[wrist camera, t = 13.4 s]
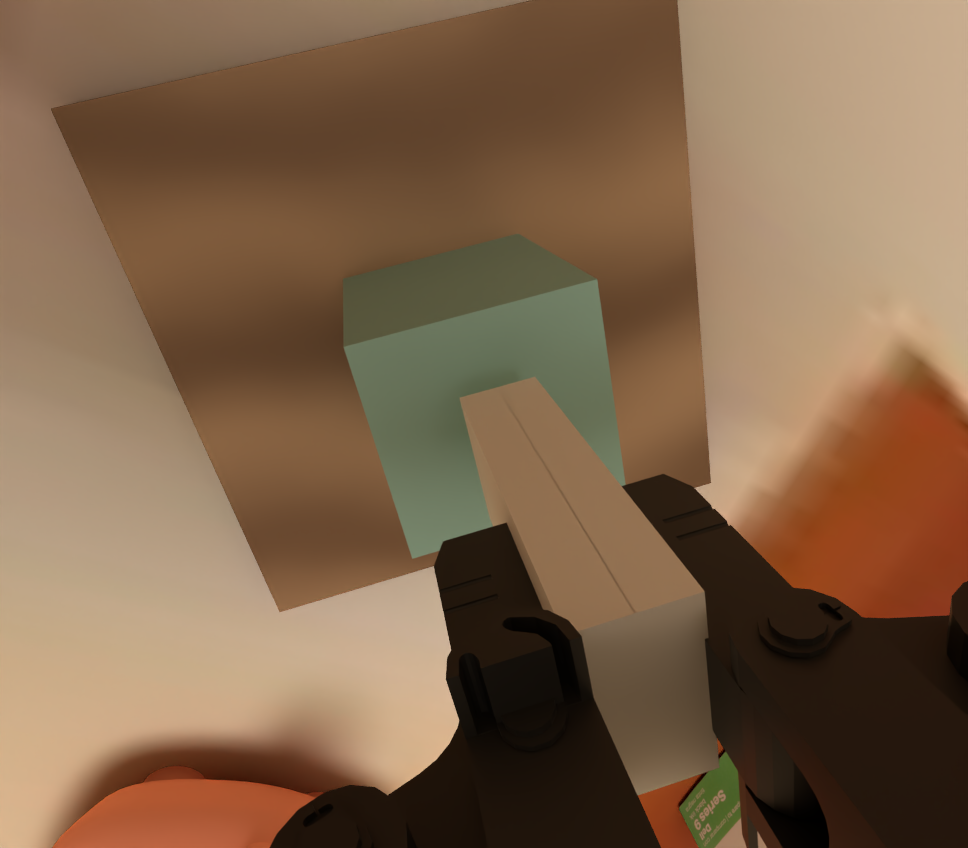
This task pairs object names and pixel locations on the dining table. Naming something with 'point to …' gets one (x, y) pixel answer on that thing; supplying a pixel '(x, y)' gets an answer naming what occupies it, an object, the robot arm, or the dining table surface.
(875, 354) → the dining table surface
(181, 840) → the teapot
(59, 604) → the dining table surface
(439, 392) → the teal green block
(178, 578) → the dining table surface
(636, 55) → the post stand
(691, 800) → the ink box
